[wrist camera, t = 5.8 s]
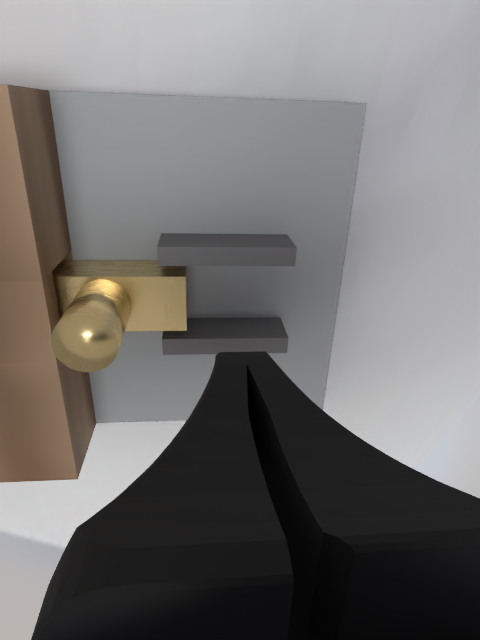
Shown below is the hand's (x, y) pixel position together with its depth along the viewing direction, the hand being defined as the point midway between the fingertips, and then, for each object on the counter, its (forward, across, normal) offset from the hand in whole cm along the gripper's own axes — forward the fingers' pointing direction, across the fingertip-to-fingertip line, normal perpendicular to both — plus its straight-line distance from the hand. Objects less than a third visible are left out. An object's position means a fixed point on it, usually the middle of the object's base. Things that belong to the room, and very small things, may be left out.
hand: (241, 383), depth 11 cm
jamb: (+9, +8, 0) cm, 12 cm away
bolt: (+7, +5, 0) cm, 9 cm away
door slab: (+9, +1, 0) cm, 9 cm away
